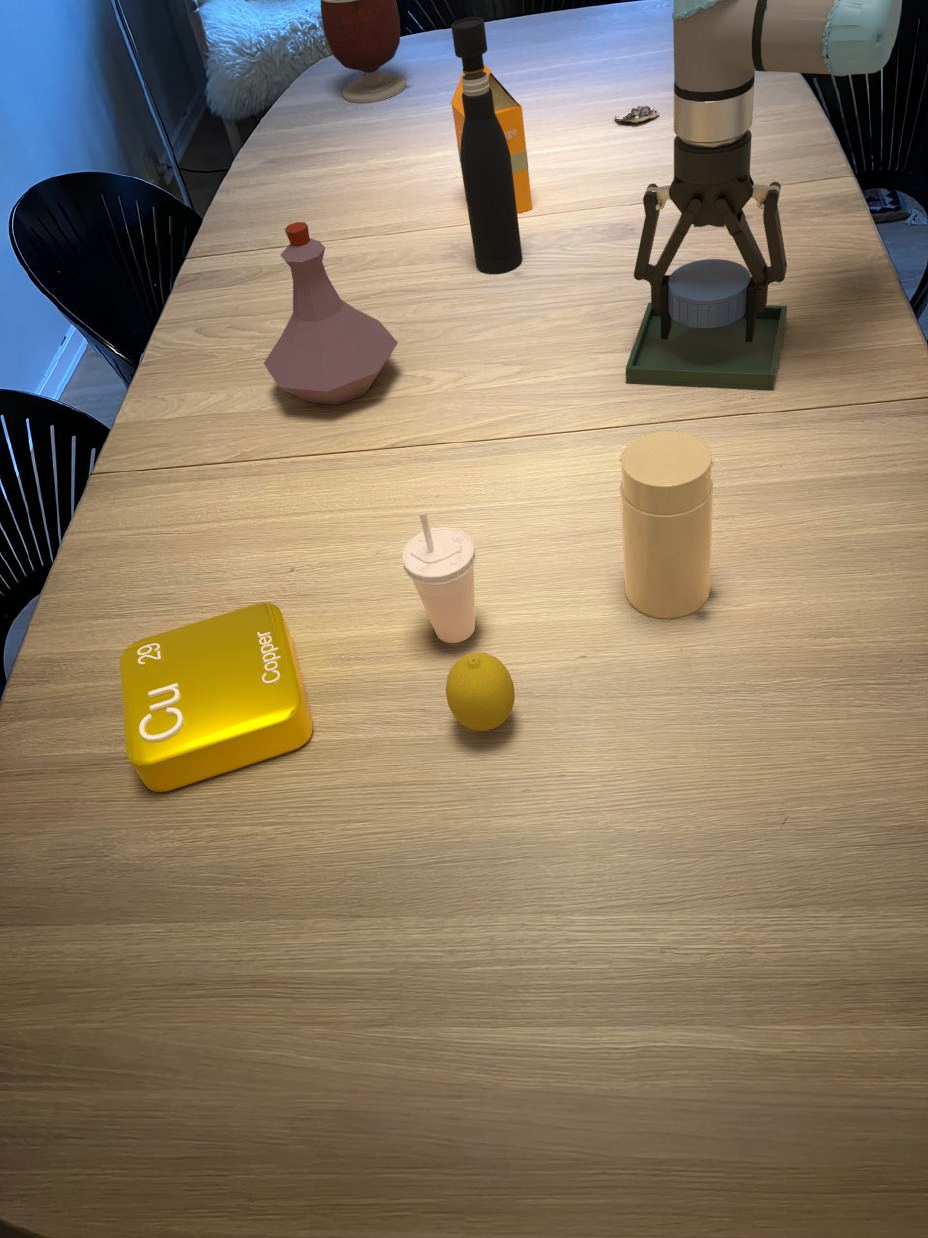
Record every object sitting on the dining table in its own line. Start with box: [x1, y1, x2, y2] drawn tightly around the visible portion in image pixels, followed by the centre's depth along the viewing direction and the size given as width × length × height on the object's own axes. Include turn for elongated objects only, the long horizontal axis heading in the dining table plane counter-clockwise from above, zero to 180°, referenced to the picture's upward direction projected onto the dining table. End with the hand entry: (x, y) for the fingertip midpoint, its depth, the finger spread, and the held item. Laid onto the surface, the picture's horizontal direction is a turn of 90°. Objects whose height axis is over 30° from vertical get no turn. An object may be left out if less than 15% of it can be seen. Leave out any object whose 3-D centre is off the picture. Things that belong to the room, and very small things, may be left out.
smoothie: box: [401, 510, 478, 644], centre depth 90 cm, size 6×6×14 cm
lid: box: [668, 258, 751, 328], centre depth 114 cm, size 9×9×3 cm
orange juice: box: [450, 64, 533, 215], centre depth 147 cm, size 8×9×20 cm
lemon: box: [445, 652, 516, 732], centre depth 84 cm, size 6×6×8 cm
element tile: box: [119, 602, 314, 793], centre depth 90 cm, size 15×15×5 cm
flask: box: [263, 221, 399, 406], centre depth 119 cm, size 16×16×20 cm
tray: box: [625, 302, 788, 391], centre depth 119 cm, size 16×14×2 cm
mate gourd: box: [320, 0, 408, 104], centre depth 188 cm, size 16×14×20 cm
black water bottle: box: [450, 16, 523, 275], centre depth 131 cm, size 6×6×30 cm
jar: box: [619, 430, 714, 620], centre depth 89 cm, size 8×8×15 cm
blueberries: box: [614, 105, 660, 124], centre depth 168 cm, size 7×8×2 cm
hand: (707, 333), depth 118 cm, fingers closed on lid, 9 cm apart
